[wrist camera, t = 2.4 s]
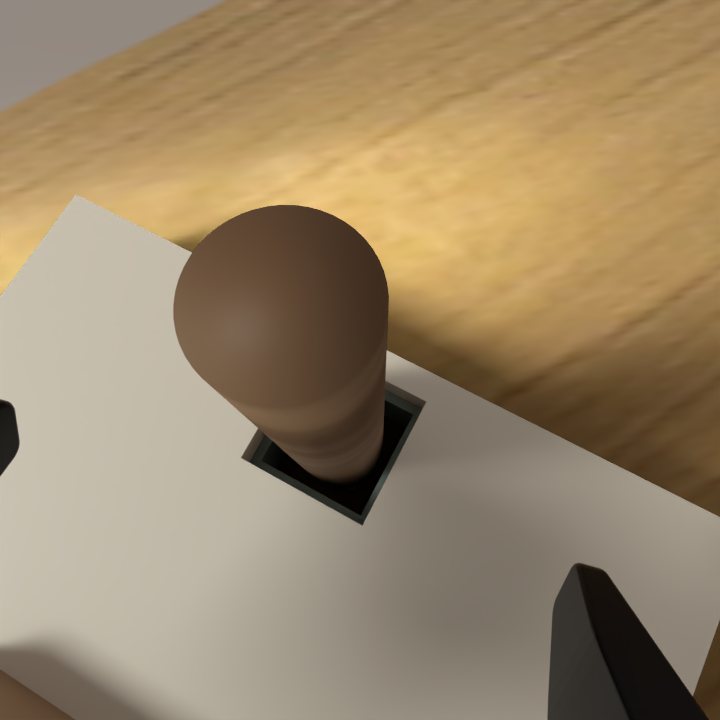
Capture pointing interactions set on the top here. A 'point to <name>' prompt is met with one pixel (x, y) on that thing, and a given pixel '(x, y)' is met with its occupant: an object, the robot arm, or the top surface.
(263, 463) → the teal box base
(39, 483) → the lid
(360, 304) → the brown wooden peg
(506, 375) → the top surface
